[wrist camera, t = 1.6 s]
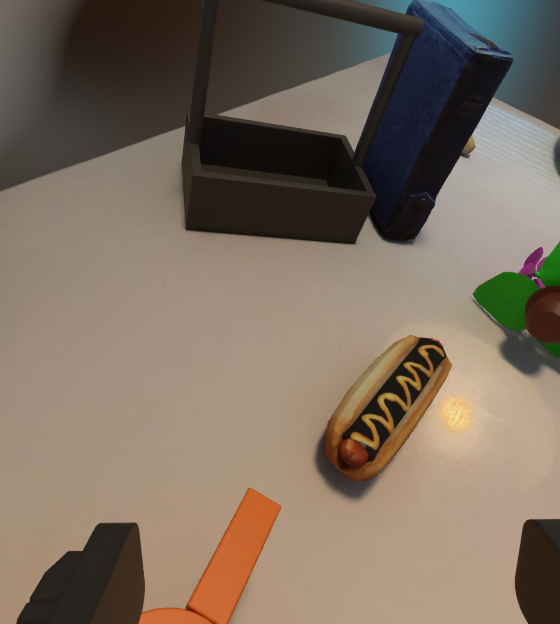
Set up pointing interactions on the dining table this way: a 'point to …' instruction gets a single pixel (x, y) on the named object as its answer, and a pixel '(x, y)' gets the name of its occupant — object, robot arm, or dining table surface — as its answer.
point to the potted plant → (527, 298)
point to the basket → (283, 151)
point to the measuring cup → (225, 567)
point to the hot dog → (385, 406)
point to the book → (430, 116)
